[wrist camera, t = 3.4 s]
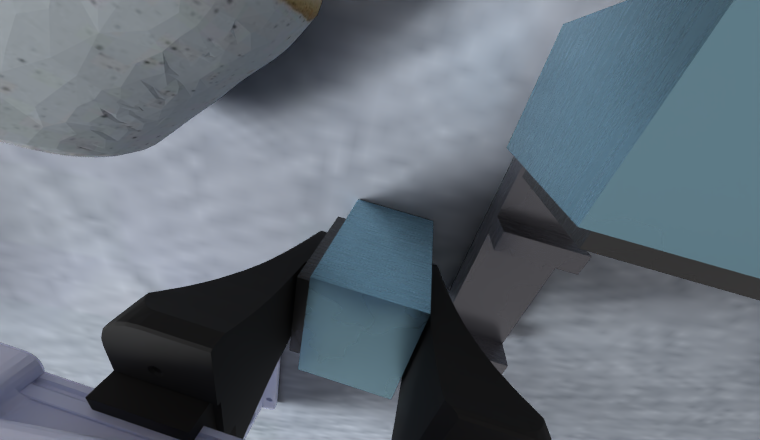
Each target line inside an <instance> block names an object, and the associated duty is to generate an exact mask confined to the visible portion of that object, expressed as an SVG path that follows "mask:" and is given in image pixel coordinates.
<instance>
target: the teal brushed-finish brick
mask: <svg viewBox="0 0 760 440" xmlns="http://www.w3.org/2000/svg"><path fill="white" fill-rule="evenodd" d="M432 247H433V221H431V220H428V219H424V218H421V217H417V216H414V215H411V214H407V213H404V212H400V211H397V210H393V209H390V208H387V207H383V206H380V205H376V204H373V203H369V202H366V201H363V200H359V199H358V201H357V203H356V204H355V206H354V207H353V209H352V211H351V212H350V214H349V215H348V217H347V219H345V218H341V217H338V218H337V219H336V221H335V222H334V224H333V225H332V227H331V228H330V229H329V231H328V232H327V234H326V235H325V237H324V238H323V240H322V241H321V243H320V244H319V245H318V247H317V248H316V250H315V251H314V253H313V254H312V256H311V257H310V259H309V260H308V261H307V263H306V264H305V266H304V267H303V269H302V270H301V272H300V273H299V275H298V276H297V281H296V291H295V301H294V311H293V321H292V331H291V341H290V351H294V352H297V353H300V358H299V365H298V369H299V370H302V371H305V372H308V373H311V374H314V375H317V376H320V377H323V378H326V379H329V380H333V381H336V382H339V383H342V384H345V385H348V386H351V387H354V388H357V389H360V390H363V391H366V392H369V393H372V394H376V395H379V396H382V397H385V398H388V399H392V396H393V394H394V392H395V390H396V388H397V385H398V383H399V381H400V379H401V377H402V375H403V372H404V370H405V368H406V366H407V364H408V362H409V359H410V357H411V355H412V353H413V351H414V349H415V346H416V344H417V342H418V340H419V338H420V336H421V333H422V331H423V329H424V327H425V325H426V323H427V320H428V318H429V316H430V311H431V279H432Z"/></svg>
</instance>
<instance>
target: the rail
mask: <svg viewBox="0 0 760 440" xmlns="http://www.w3.org/2000/svg"><path fill="white" fill-rule="evenodd" d="M507 149H508V150H509V151H510V152H511V153H512V154H513V155H514V158H513V160H512V162H511V164H510V166H509V168H508V170H507V173H506V175H505V177H504V179H503V181H502V183H501V185H500V187H499V189H498V191H497V193H496V195H495V198H494V200H493V202H492V204H491V206H490V208H489V210H488V212H487V214H486V216H485V218H484V220H483V223H482V225H481V227H480V229H479V231H478V233H477V235H476V237H475V239H474V241H473V243H472V245H471V248H470V250H469V252H468V254H467V256H466V258H465V260H464V262H463V264H462V266H461V268H460V270H459V272H458V275H457V277H456V279H455V281H454V283H453V285H452V287H451V289H450V291H449V293H448V294H449V296H450V298H451V300H452V302H453V304H454V306H455V308H456V310H457V312H458V314H459V316H460V317H461V319H462V321H463V323H464V324H465V326H466V328H467V329H468V331H469V332H470V334H471V335H472V337H473V338H474V340H475V341H476V343H477V344H478V346H479V347H480V348H481V350H482V351H483V352H484V354H485V355H486V356H487V357H488V359H489V360H490V361H491V363H492V364H493V365H494V366H495V368H496V369H497V370H498V371H499V372H500V373H501V374H502V373H503V372H504V370H505V369H506V368H507V361H506V357H505V353H504V349H503V345H502V343H503V342H504V340H505V339H506V337H507V336H508V335H509V333H510V332H511V330H512V329H513V328H514V326H515V325H516V323H517V322H518V320H519V319H520V318H521V316H522V315H523V313H524V312H525V310H526V309H527V308H528V306H529V305H530V303H531V302H532V300H533V299H534V298H535V296H536V295H537V293H538V292H539V290H540V289H541V288H542V286H543V285H544V283H545V282H546V280H547V279H548V278H549V276H550V275H551V273H552V272H553V270H554V269H555V268H557V269H560V270H564V271H567V272H570V273H574V274H577V275H578V274H579V272H580V271H581V270H582V269H583V267H584V266H585V265H586V263H587V262H588V261H589V259H590V258H591V256H590V255H589V253H588V252H587V251H589V252H593V253H596V254H600V255H603V256H607V257H610V258H614V259H617V260H621V261H624V262H628V263H631V264H635V265H638V266H642V267H645V268H649V269H652V270H656V271H659V272H662V273H666V274H669V275H673V276H676V277H680V278H683V279H687V280H690V281H694V282H697V283H701V284H704V285H708V286H711V287H715V288H718V289H722V290H725V291H729V292H732V293H736V294H739V295H743V296H746V297H750V298H753V299H756V300H760V0H627V1H624V2H622V3H619V4H616V5H613V6H611V7H608V8H605V9H603V10H600V11H597V12H595V13H592V14H589V15H587V16H584V17H581V18H579V19H576V20H573V21H571V22H568V23H565V24H563V26H562V28H561V30H560V33H559V35H558V37H557V39H556V41H555V44H554V46H553V48H552V50H551V52H550V54H549V57H548V59H547V61H546V63H545V65H544V67H543V70H542V72H541V74H540V76H539V78H538V81H537V83H536V85H535V87H534V89H533V91H532V94H531V96H530V98H529V100H528V102H527V105H526V107H525V109H524V111H523V113H522V115H521V118H520V120H519V122H518V124H517V126H516V128H515V131H514V133H513V135H512V137H511V139H510V142H509V144H508V146H507Z"/></svg>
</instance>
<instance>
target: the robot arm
mask: <svg viewBox="0 0 760 440" xmlns="http://www.w3.org/2000/svg"><path fill="white" fill-rule="evenodd" d="M326 234H327V232H323V231H320V232H318V233H317V234H315V235H313V236H312V237H310V238H309V239H307V240H305V241H304V242H302V243H300V244H299V245H297V246H295V247H293V248H292V249H290V250H288V251H286V252H285V253H283V254H281V255H279V256H277V257H275V258H273V259H271V260H269V261H267V262H264V263H262V264H260V265H257V266H255V267H252V268H250V269H247V270H244V271H241V272H238V273H235V274H232V275H229V276H226V277H222V278H219V279H215V280H212V281H208V282H204V283H199V284H195V285H191V286H186V287H181V288H175V289H169V290H163V291H158V292H151V293H148V294H146V295H145V296H144V297H142V298H141V299H139V300H138V301H137V302H135V303H134V304H133V305H131V306H130V307H129V308H128V309H126V310H125V311H124V312H122V313H121V314H120V315H119V316H117V317H116V318H115V319H113V320H112V321H111V322H109V323H108V324H107V325H106V326H105V327H104V328H103V331H102V337H101V339H102V342H103V346H104V348H105V351H106V353H107V355H108V358H109V360H110V362H111V364H112V367H113V369H114V371H113V372H112V373H111V374H110V375H109V376H108V377H107V378H106V379H105V380H103V381H102V382H101V383H100V384H99V385H98V386H97V387H96V388H95V389H94V388H91V387H88V386H85V385H82V384H79V383H77V382H74V381H71V380H68V379H65V378H62V377H59V376H56V375H53V374H50V373H47V372H44V367H43V365H42V363H41V361H40V360H39V359H38V358H37V357H35V356H34V355H33V354H31V353H29V352H27V351H24V350H21V349H19V348H16V347H13V346H10V345H7V344H4V343H1V342H0V440H245V438H246V436H247V434H248V432H249V430H250V429H251V427H252V425H253V423H254V421H255V419H256V417H257V415H258V413H259V411H260V410H261V408H262V407H263V408H266V409H270V410H273V409H275V407H276V405H277V398H278V385H279V371H280V358H281V355H282V353H283V351H284V349H285V347H286V345H287V343H288V341H289V339H290V337H291V331H292V321H293V311H294V301H295V291H296V281H297V276H298V275H299V273H300V272H301V270H302V269H303V267H304V266H305V264H306V263H307V261H308V260H309V259H310V257H311V256H312V254H313V253H314V251H315V250H316V248H317V247H318V245H319V244H320V243H321V241H322V240H323V238H324V237H325V235H326ZM392 440H551V437H550V434H549V431H548V429H547V426H546V423H545V421H544V418H543V417H542V416H541V415H540V414H539V413H538V412H537V411H536V410H535V409H534V408H533V407H532V406H531V405H530V404H529V403H528V402H527V401H526V400H525V399H524V398H523V397H522V396H521V395H520V394H519V393H518V392H517V391H516V390H515V389H514V388H513V387H512V386H511V385H510V384H509V382H508V381H507V380H506V379H505V378H504V377H503V376H502V375H501V373H500V372H499V371H498V370H497V369H496V368H495V366H494V365H493V364H492V363H491V361H490V360H489V359H488V357H487V356H486V355H485V354H484V352H483V351H482V350H481V348H480V347H479V346H478V344H477V343H476V341H475V340H474V338H473V337H472V335H471V334H470V332H469V331H468V329H467V328H466V326H465V324H464V323H463V321H462V319H461V317H460V316H459V314H458V312H457V310H456V308H455V306H454V304H453V302H452V300H451V298H450V296H449V294H448V291H447V289H446V287H445V284H444V282H443V280H442V277H441V274H440V272H439V269H438V267H437V265H434V264H432V279H431V311H430V316H429V318H428V320H427V323H426V325H425V327H424V329H423V331H422V333H421V336H420V338H419V340H418V342H417V344H416V346H415V349H414V351H413V353H412V355H411V357H410V359H409V362H408V364H407V366H406V368H405V370H404V372H403V375H402V380H401V386H400V393H399V399H398V405H397V411H396V417H395V423H394V429H393V434H392Z"/></svg>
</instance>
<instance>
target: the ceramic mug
mask: <svg viewBox="0 0 760 440" xmlns="http://www.w3.org/2000/svg"><path fill="white" fill-rule="evenodd" d="M321 4H322V0H0V142H3V143H7V144H11V145H15V146H19V147H23V148H28V149H32V150H37V151H42V152H47V153H53V154H60V155H66V156H78V157H109V156H118V155H123V154H128V153H132V152H136V151H141V150H144V149H147V148H149V147H151V146H153V145H155V144H157V143H158V142H160V141H161V140H163V139H164V138H165V137H167V136H168V135H169V134H171V133H172V132H174V131H175V130H176V129H178V128H179V127H180V126H182V125H183V124H184V123H186V122H187V121H188V120H190V119H191V118H193V117H194V116H195V115H197V114H198V113H200V112H201V111H203V110H204V109H206V108H207V107H208V106H210V105H211V104H213V103H214V102H216V101H217V100H218V99H219V98H221V97H222V96H223V95H224V94H226V93H227V92H228V91H229V90H231V89H232V88H233V87H234V86H236V85H237V84H238V83H239V82H241V81H242V80H244V79H245V78H247V77H248V76H249V75H251V74H252V73H254V72H255V71H257V70H258V69H260V68H262V67H263V66H265V65H266V64H268V63H269V62H271V61H272V60H274V59H275V58H276V57H278V56H279V55H280V54H281V53H283V52H284V51H285V50H286V49H288V48H289V47H290V46H291V44H292V43H293V42H294V41H295V40H296V39H297V38H298V37H299V36H300V35H301V34H302V32H303V31H304V30H305V29H306V28H307V27H308V25H309V24H310V23H311V22H312V21H313V19H314V18H315V17H316V16H317V15H318V12H319V9H320V6H321Z"/></svg>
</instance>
